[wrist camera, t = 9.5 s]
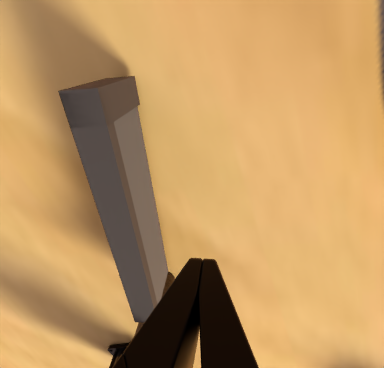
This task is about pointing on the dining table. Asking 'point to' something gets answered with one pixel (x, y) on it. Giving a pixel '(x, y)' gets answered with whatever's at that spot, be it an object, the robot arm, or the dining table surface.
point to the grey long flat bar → (120, 184)
